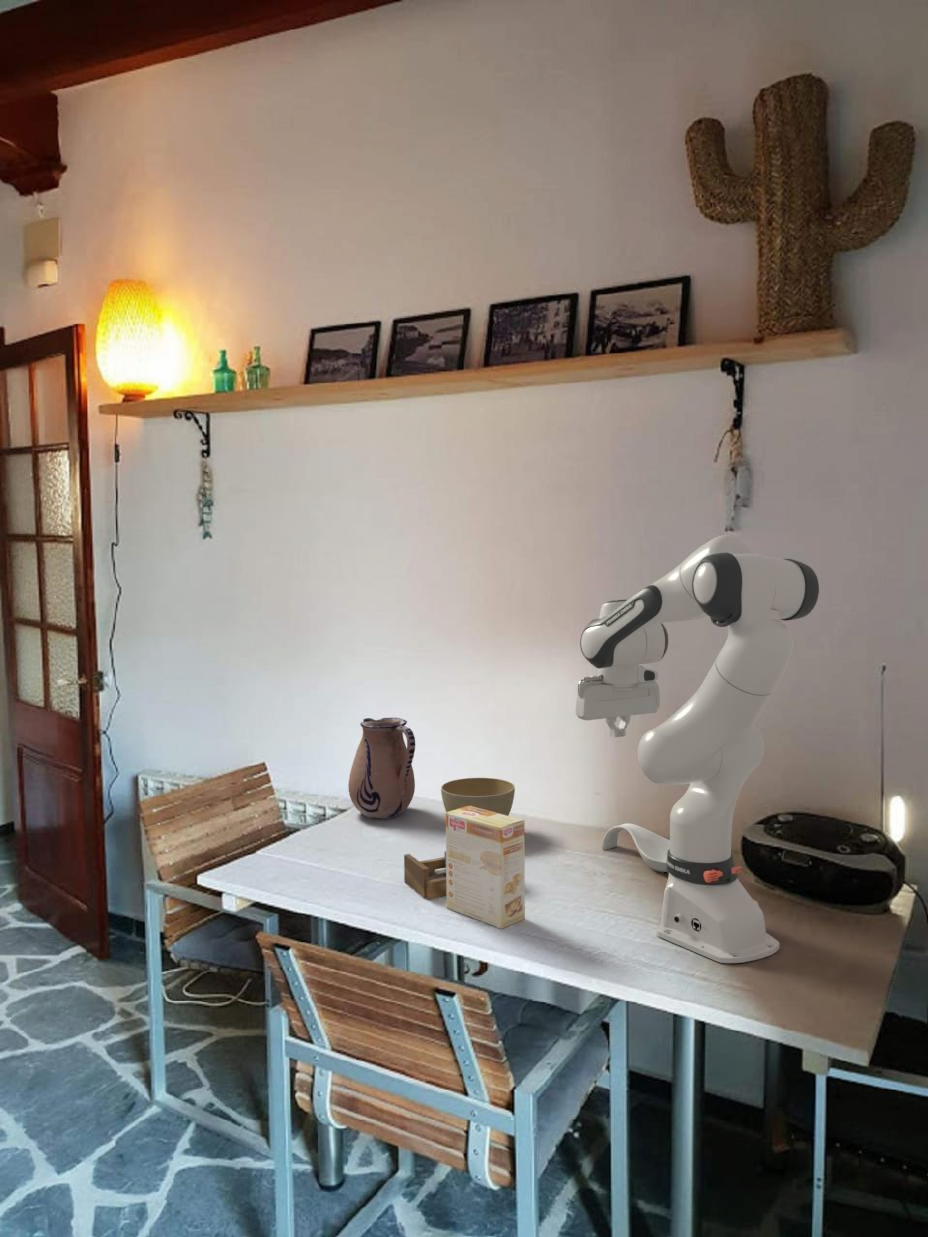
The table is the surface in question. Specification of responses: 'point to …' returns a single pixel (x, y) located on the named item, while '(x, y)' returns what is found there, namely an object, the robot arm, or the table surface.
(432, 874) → the brown wooden frame
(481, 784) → the flower pot
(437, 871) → the pusher
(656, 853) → the spoon rest
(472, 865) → the coffeecake box
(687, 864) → the robot arm
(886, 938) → the table surface
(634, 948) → the table surface
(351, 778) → the ceramic pitcher
